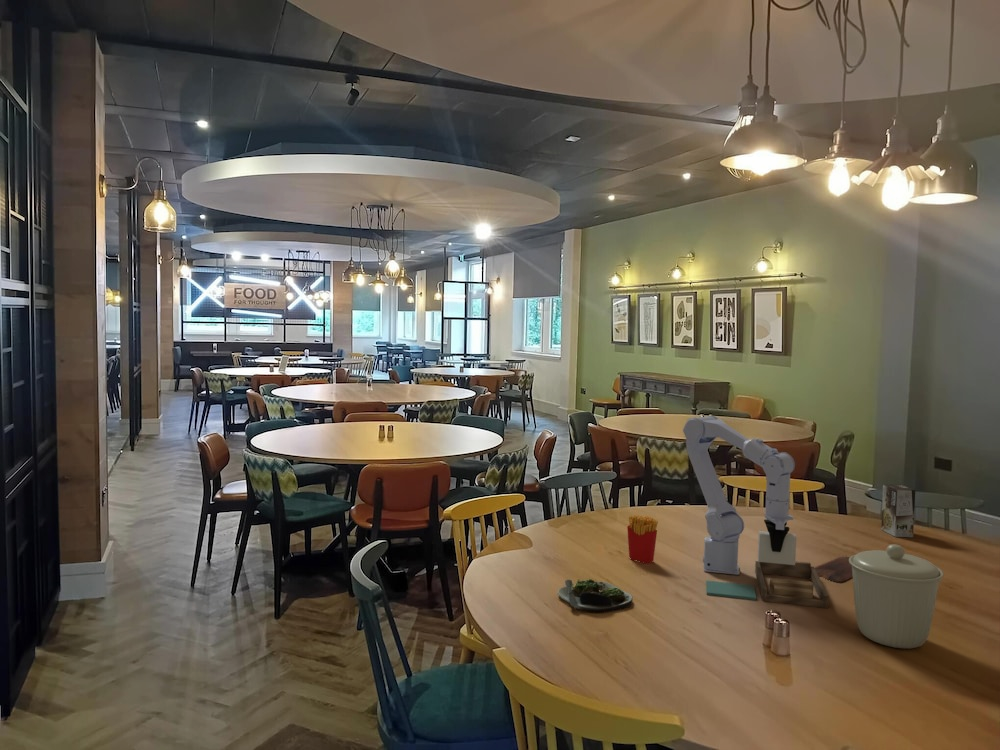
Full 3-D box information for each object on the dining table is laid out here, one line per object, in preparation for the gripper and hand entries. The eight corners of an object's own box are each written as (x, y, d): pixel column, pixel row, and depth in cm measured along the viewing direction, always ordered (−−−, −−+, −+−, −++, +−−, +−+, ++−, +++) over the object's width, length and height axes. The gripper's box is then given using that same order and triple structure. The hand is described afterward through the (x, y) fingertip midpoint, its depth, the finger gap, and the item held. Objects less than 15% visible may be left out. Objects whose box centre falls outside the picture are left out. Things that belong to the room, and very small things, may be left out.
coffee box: (914, 537, 232) (916, 489, 231) (894, 537, 232) (897, 489, 231) (898, 529, 241) (901, 483, 240) (880, 529, 241) (882, 483, 240)
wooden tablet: (842, 551, 212) (877, 555, 205) (842, 559, 212) (878, 563, 205) (804, 571, 195) (841, 576, 187) (804, 579, 195) (841, 585, 187)
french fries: (624, 558, 206) (625, 515, 205) (631, 555, 209) (632, 512, 208) (652, 565, 200) (653, 521, 199) (659, 561, 203) (660, 518, 202)
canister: (939, 665, 141) (945, 564, 140) (841, 643, 151) (845, 548, 149) (939, 633, 156) (944, 541, 155) (849, 615, 166) (853, 528, 165)
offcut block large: (771, 595, 179) (772, 582, 179) (769, 592, 181) (770, 578, 181) (812, 598, 177) (813, 585, 177) (810, 595, 179) (810, 581, 179)
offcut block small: (773, 599, 176) (774, 588, 176) (773, 596, 178) (774, 584, 178) (812, 604, 173) (813, 592, 173) (811, 601, 175) (812, 589, 175)
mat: (706, 594, 178) (706, 592, 178) (706, 582, 187) (706, 580, 187) (756, 600, 175) (756, 597, 175) (753, 587, 183) (753, 585, 183)
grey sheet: (758, 561, 184) (759, 534, 184) (757, 558, 187) (758, 530, 187) (795, 565, 182) (796, 537, 181) (793, 561, 185) (794, 533, 184)
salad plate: (539, 591, 180) (540, 573, 180) (597, 581, 188) (597, 564, 187) (580, 619, 162) (580, 600, 162) (641, 607, 170) (642, 588, 170)
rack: (762, 600, 174) (762, 585, 174) (755, 571, 196) (755, 557, 196) (828, 608, 170) (828, 592, 170) (813, 577, 192) (814, 563, 192)
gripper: (798, 506, 176) (795, 559, 176) (789, 494, 189) (787, 542, 190) (768, 504, 177) (766, 556, 178) (762, 492, 191) (760, 540, 192)
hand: (775, 549), depth 184 cm, fingers closed on grey sheet, 3 cm apart
